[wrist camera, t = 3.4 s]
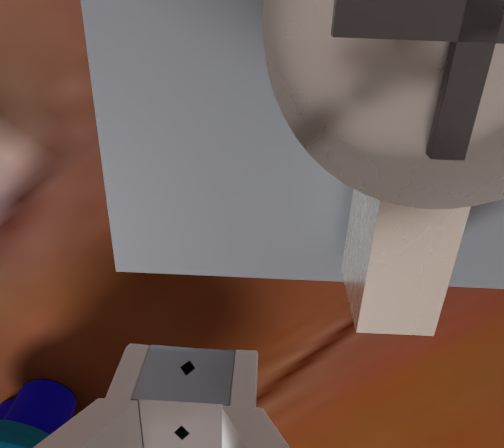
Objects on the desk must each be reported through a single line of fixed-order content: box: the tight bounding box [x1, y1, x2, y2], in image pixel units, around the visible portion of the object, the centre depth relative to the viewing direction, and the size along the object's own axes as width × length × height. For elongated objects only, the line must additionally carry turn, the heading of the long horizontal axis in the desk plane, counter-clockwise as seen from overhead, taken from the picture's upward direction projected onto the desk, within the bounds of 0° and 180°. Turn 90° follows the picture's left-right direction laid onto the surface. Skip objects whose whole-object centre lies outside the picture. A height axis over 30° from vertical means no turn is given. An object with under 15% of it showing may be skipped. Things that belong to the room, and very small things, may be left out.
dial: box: [262, 0, 504, 336], centre depth 13 cm, size 14×9×4 cm, turn 178°
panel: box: [81, 0, 504, 289], centre depth 15 cm, size 20×20×4 cm
